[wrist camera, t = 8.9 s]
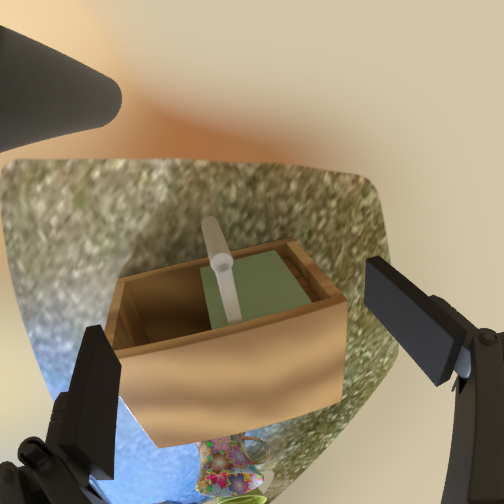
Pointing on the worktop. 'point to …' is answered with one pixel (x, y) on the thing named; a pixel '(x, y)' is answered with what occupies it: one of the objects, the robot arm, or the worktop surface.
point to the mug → (228, 466)
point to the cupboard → (224, 352)
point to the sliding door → (245, 282)
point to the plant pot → (244, 498)
